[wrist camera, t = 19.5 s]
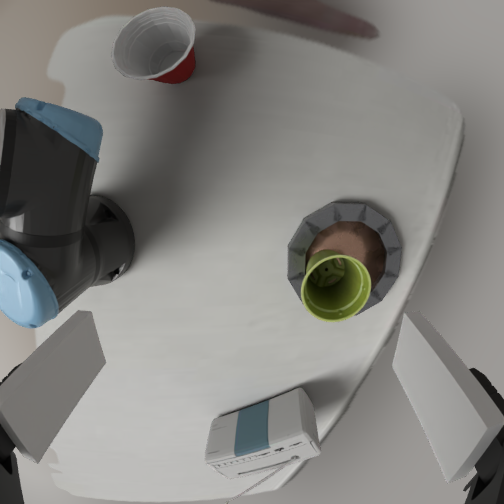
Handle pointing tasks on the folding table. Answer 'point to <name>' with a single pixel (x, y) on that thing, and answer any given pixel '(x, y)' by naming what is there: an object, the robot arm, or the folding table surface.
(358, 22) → the folding table surface
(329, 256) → the plant pot
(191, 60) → the plastic cup
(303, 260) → the steel ring
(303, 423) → the stereo radio cassette player
